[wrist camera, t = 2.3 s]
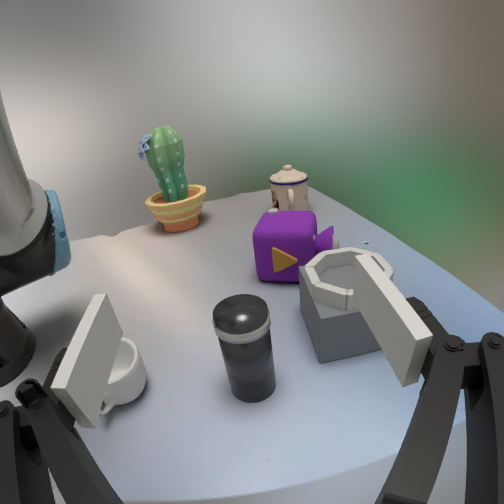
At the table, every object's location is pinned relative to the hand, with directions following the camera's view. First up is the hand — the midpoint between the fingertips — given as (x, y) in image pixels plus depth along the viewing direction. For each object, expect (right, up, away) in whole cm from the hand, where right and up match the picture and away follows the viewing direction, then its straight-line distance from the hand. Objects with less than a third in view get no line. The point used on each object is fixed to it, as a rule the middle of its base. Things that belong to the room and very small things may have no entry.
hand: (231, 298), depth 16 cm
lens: (+1, -13, +18) cm, 22 cm away
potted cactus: (-17, +9, +64) cm, 66 cm away
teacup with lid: (+11, +11, +61) cm, 63 cm away
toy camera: (+9, -1, +39) cm, 40 cm away
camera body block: (+13, -7, +24) cm, 29 cm away
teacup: (-15, -15, +18) cm, 27 cm away
